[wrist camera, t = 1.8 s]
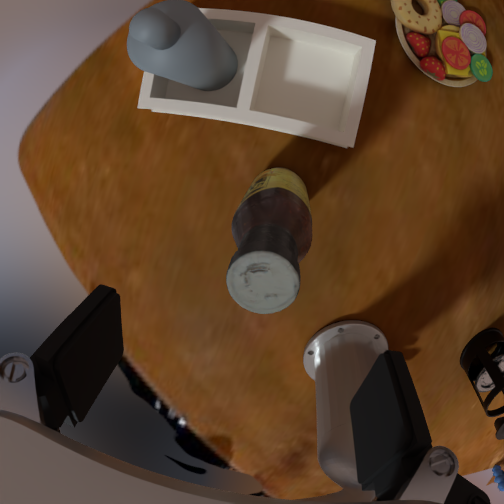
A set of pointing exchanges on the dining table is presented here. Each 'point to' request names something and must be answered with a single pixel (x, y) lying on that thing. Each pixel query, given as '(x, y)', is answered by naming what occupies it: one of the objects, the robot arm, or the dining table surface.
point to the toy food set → (443, 40)
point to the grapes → (499, 477)
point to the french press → (486, 371)
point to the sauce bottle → (270, 242)
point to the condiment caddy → (252, 69)
